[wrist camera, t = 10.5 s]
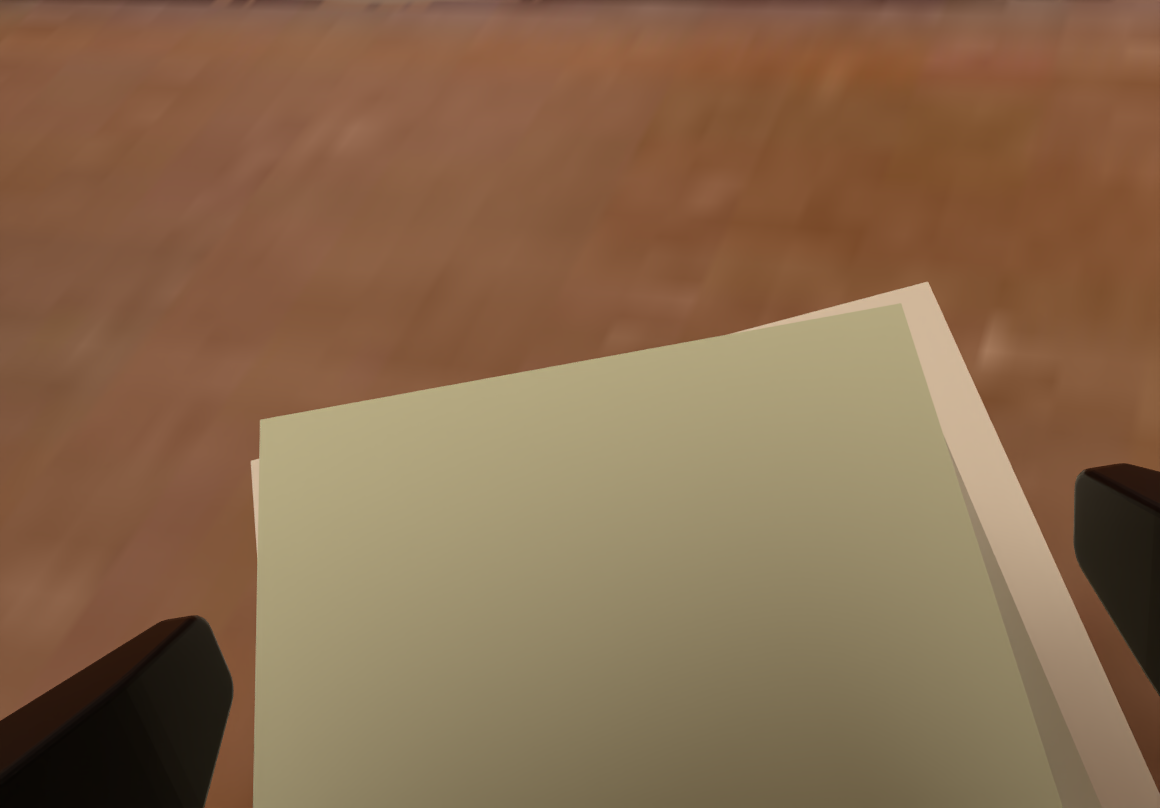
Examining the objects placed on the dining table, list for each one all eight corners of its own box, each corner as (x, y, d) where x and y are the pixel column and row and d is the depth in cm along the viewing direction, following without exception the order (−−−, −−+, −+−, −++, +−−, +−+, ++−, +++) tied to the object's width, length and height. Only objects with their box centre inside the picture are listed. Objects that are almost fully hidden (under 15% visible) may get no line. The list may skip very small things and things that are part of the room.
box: (1183, 1072, 13) (1329, 1169, 10) (406, 1244, 14) (314, 1387, 11) (890, 364, 18) (927, 281, 15) (328, 511, 19) (250, 460, 16)
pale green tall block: (853, 878, 14) (1170, 1142, 4) (562, 917, 15) (245, 1238, 5) (786, 583, 16) (900, 303, 6) (530, 623, 17) (260, 420, 7)
